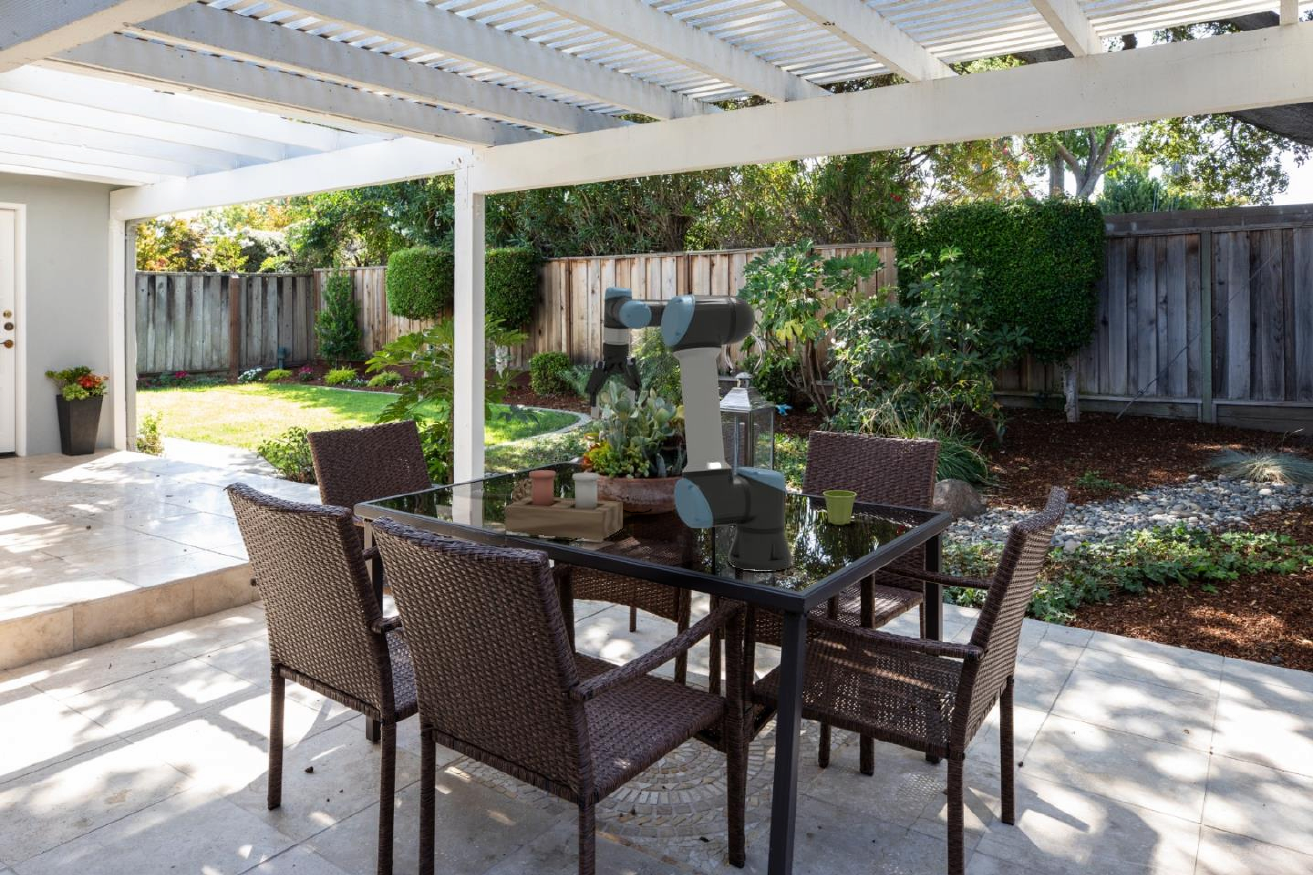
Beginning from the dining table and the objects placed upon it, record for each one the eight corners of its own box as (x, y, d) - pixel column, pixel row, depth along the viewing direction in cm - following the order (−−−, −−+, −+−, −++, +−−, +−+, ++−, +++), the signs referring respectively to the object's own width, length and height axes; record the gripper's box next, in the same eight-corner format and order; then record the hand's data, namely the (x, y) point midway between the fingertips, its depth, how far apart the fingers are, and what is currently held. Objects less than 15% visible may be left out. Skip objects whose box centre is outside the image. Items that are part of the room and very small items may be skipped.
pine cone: (512, 506, 289) (511, 475, 287) (543, 505, 290) (542, 474, 289) (510, 522, 267) (509, 488, 266) (543, 521, 268) (543, 487, 267)
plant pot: (856, 527, 260) (856, 496, 259) (822, 525, 262) (822, 495, 261) (855, 520, 269) (856, 490, 268) (822, 518, 271) (823, 489, 270)
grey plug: (593, 518, 247) (593, 477, 245) (568, 516, 249) (568, 476, 248) (603, 512, 253) (603, 473, 252) (579, 511, 256) (579, 472, 254)
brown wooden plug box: (601, 543, 242) (600, 513, 241) (505, 535, 251) (504, 506, 250) (622, 529, 257) (622, 501, 256) (532, 522, 266) (531, 495, 265)
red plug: (549, 514, 251) (548, 475, 249) (525, 513, 253) (524, 473, 252) (560, 509, 258) (559, 470, 256) (537, 508, 260) (536, 469, 258)
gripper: (639, 337, 273) (635, 407, 279) (573, 343, 256) (570, 417, 262) (656, 341, 268) (652, 412, 273) (590, 347, 251) (587, 422, 256)
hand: (612, 414), depth 267 cm, fingers open, 13 cm apart
